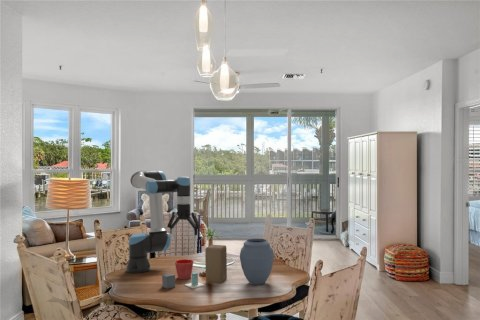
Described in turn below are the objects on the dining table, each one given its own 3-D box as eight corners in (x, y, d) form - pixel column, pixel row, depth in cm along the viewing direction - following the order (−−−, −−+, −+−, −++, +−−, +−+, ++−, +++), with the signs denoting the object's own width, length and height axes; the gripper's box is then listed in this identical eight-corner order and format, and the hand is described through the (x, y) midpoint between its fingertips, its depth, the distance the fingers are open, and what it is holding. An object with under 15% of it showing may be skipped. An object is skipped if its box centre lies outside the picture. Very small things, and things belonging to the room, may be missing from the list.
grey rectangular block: (162, 286, 233) (162, 274, 233) (170, 284, 236) (170, 273, 237) (167, 288, 229) (166, 276, 229) (175, 286, 232) (175, 274, 233)
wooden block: (227, 279, 247) (227, 245, 247) (221, 283, 237) (220, 248, 238) (211, 277, 250) (211, 244, 250) (205, 282, 241) (204, 247, 241)
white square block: (184, 285, 235) (184, 273, 235) (196, 282, 240) (196, 270, 240) (192, 288, 229) (192, 275, 229) (204, 285, 234) (204, 273, 234)
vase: (250, 290, 224) (249, 244, 224) (234, 281, 241) (233, 239, 242) (281, 285, 233) (280, 241, 233) (263, 277, 250) (262, 236, 251)
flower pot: (190, 280, 246) (190, 263, 246) (172, 279, 248) (172, 262, 248) (195, 275, 256) (195, 259, 256) (178, 274, 258) (178, 259, 259)
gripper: (161, 203, 242) (161, 240, 242) (200, 204, 234) (200, 242, 234) (167, 202, 250) (167, 237, 250) (206, 203, 241) (206, 240, 241)
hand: (183, 240), depth 242 cm, fingers open, 13 cm apart
